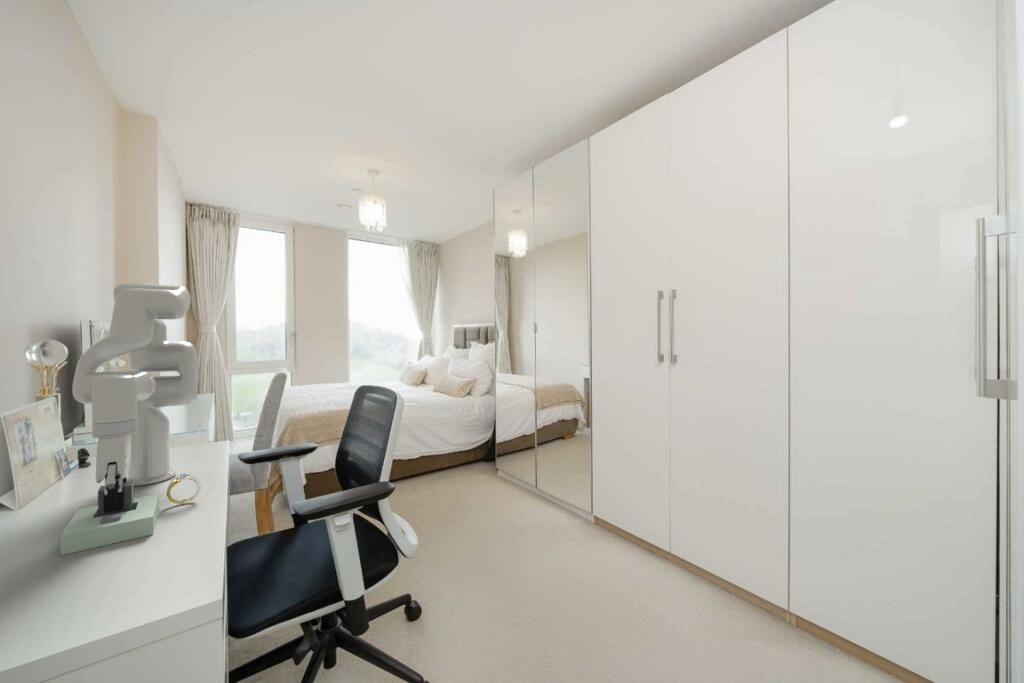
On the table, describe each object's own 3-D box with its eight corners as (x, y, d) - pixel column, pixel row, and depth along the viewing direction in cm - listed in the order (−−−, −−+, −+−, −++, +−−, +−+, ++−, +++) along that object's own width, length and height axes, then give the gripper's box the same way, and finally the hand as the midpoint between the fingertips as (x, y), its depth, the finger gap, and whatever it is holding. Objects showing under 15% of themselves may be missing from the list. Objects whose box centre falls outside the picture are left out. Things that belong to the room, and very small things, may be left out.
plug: (101, 524, 93) (100, 486, 93) (133, 518, 97) (133, 480, 97) (98, 531, 90) (97, 491, 90) (132, 524, 94) (131, 485, 94)
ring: (166, 509, 103) (165, 477, 103) (167, 504, 106) (167, 474, 106) (200, 502, 107) (200, 472, 107) (201, 498, 110) (200, 469, 110)
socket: (79, 525, 94) (78, 505, 94) (158, 509, 103) (158, 491, 102) (60, 555, 81) (60, 531, 81) (153, 534, 90) (152, 512, 90)
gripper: (99, 424, 98) (100, 498, 98) (83, 438, 84) (84, 524, 84) (141, 420, 102) (142, 490, 103) (132, 432, 89) (133, 514, 89)
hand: (116, 505), depth 93 cm, fingers open, 5 cm apart
